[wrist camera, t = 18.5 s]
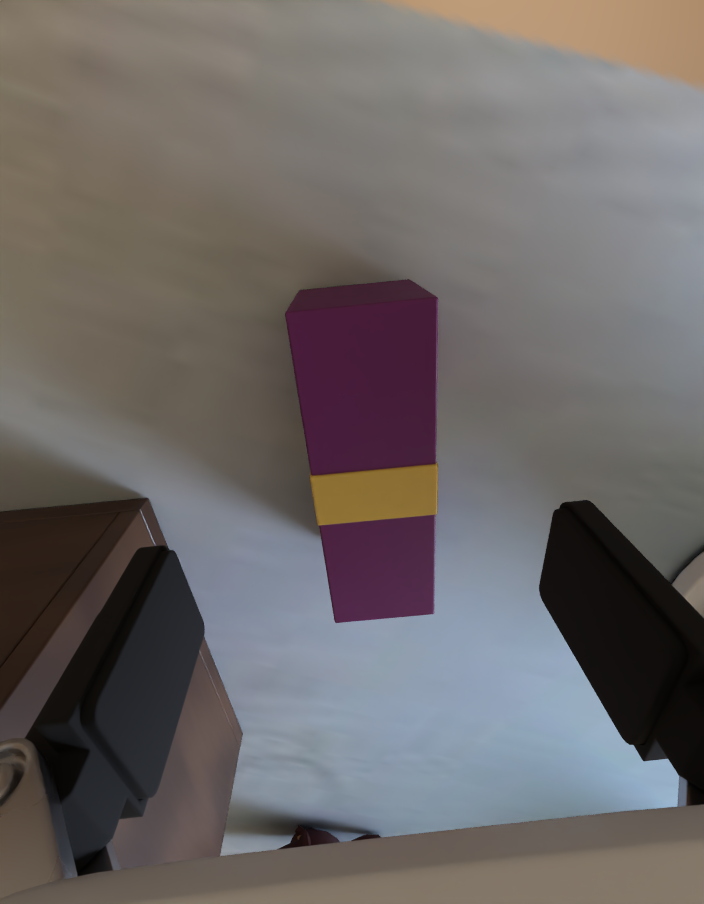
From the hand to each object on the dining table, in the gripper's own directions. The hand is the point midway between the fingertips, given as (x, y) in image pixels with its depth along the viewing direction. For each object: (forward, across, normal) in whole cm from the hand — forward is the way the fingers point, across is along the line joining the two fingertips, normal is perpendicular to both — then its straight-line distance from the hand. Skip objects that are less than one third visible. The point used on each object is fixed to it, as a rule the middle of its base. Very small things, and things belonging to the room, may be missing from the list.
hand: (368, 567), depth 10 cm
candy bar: (+8, -1, 0) cm, 8 cm away
